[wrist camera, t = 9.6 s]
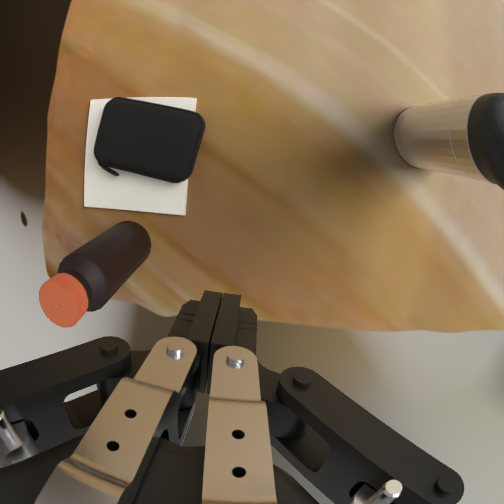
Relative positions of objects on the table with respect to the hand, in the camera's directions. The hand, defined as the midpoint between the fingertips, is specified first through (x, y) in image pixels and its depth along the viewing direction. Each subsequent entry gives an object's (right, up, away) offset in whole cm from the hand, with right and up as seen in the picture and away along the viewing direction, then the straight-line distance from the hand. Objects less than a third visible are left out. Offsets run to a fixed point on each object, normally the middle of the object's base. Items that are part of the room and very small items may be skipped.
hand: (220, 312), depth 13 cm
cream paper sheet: (-15, +16, +26) cm, 34 cm away
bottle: (-17, +4, +31) cm, 35 cm away
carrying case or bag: (-5, +15, +24) cm, 29 cm away
